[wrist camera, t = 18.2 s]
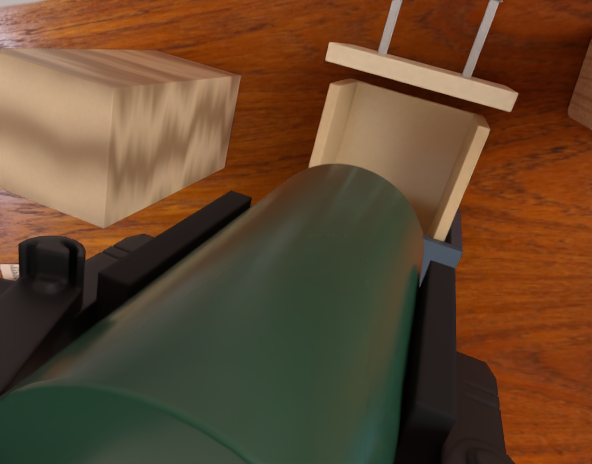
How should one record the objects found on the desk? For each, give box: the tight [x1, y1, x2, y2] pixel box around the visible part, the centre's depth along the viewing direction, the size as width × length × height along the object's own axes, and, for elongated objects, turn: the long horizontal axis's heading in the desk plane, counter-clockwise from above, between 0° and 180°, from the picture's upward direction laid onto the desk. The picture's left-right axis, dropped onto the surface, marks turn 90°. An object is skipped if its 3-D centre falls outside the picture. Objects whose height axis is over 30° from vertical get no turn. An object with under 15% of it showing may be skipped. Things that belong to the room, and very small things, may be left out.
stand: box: [0, 48, 241, 228], centre depth 37 cm, size 9×9×18 cm
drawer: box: [308, 0, 518, 242], centre depth 35 cm, size 21×12×8 cm, turn 166°
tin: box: [0, 164, 424, 464], centre depth 12 cm, size 6×6×12 cm
